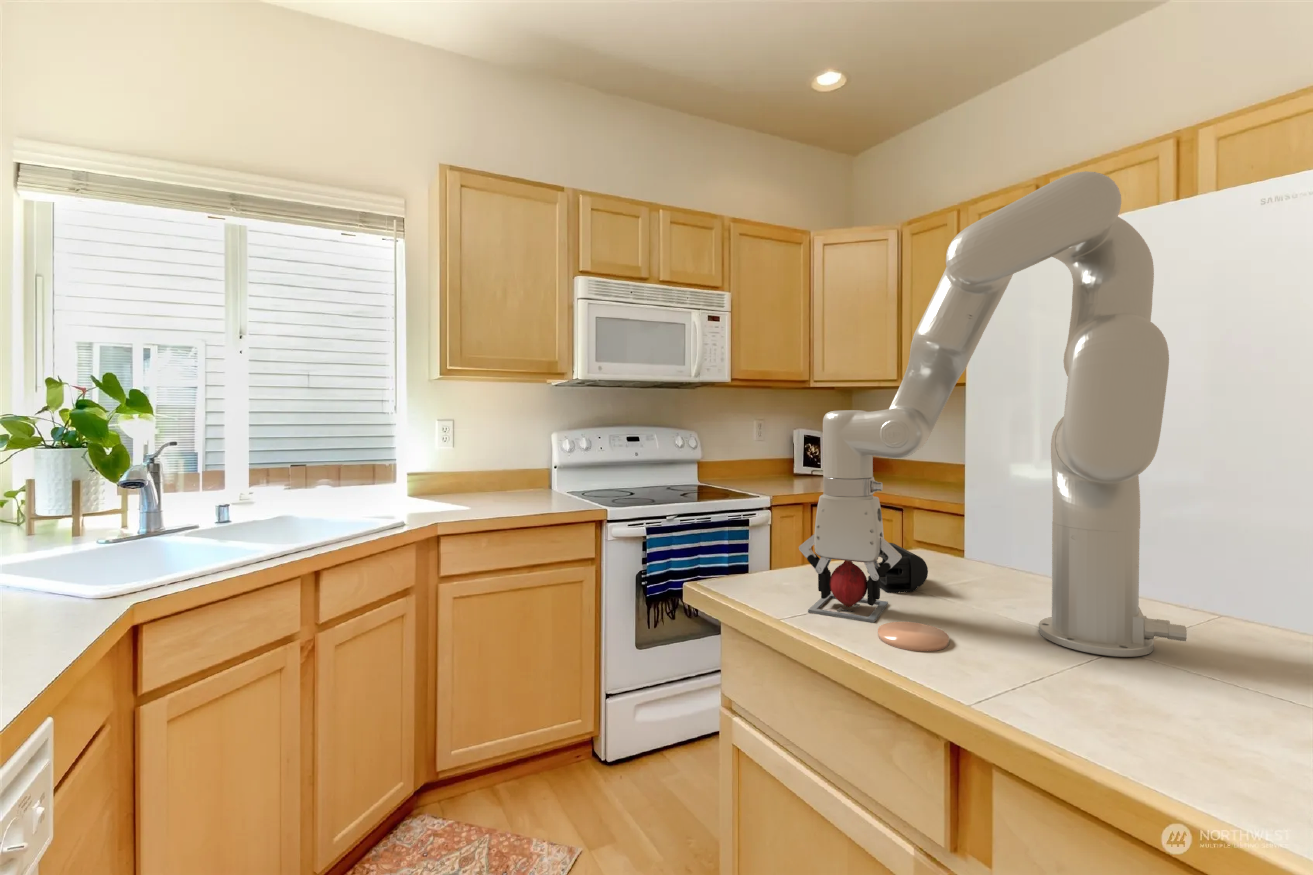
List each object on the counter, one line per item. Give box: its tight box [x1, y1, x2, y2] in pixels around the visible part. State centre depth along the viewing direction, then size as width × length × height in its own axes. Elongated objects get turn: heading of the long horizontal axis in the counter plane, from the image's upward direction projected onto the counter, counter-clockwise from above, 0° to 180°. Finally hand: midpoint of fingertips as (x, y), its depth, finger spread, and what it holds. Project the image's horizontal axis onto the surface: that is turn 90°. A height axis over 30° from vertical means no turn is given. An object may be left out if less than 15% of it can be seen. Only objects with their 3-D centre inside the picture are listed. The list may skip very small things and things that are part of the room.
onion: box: [829, 560, 868, 608], centre depth 98 cm, size 6×6×8 cm
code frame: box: [807, 593, 889, 623], centre depth 98 cm, size 10×10×1 cm
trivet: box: [877, 621, 950, 652], centre depth 84 cm, size 9×9×1 cm
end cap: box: [866, 542, 929, 594], centre depth 110 cm, size 10×7×7 cm
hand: (848, 598), depth 98 cm, fingers open, 6 cm apart
